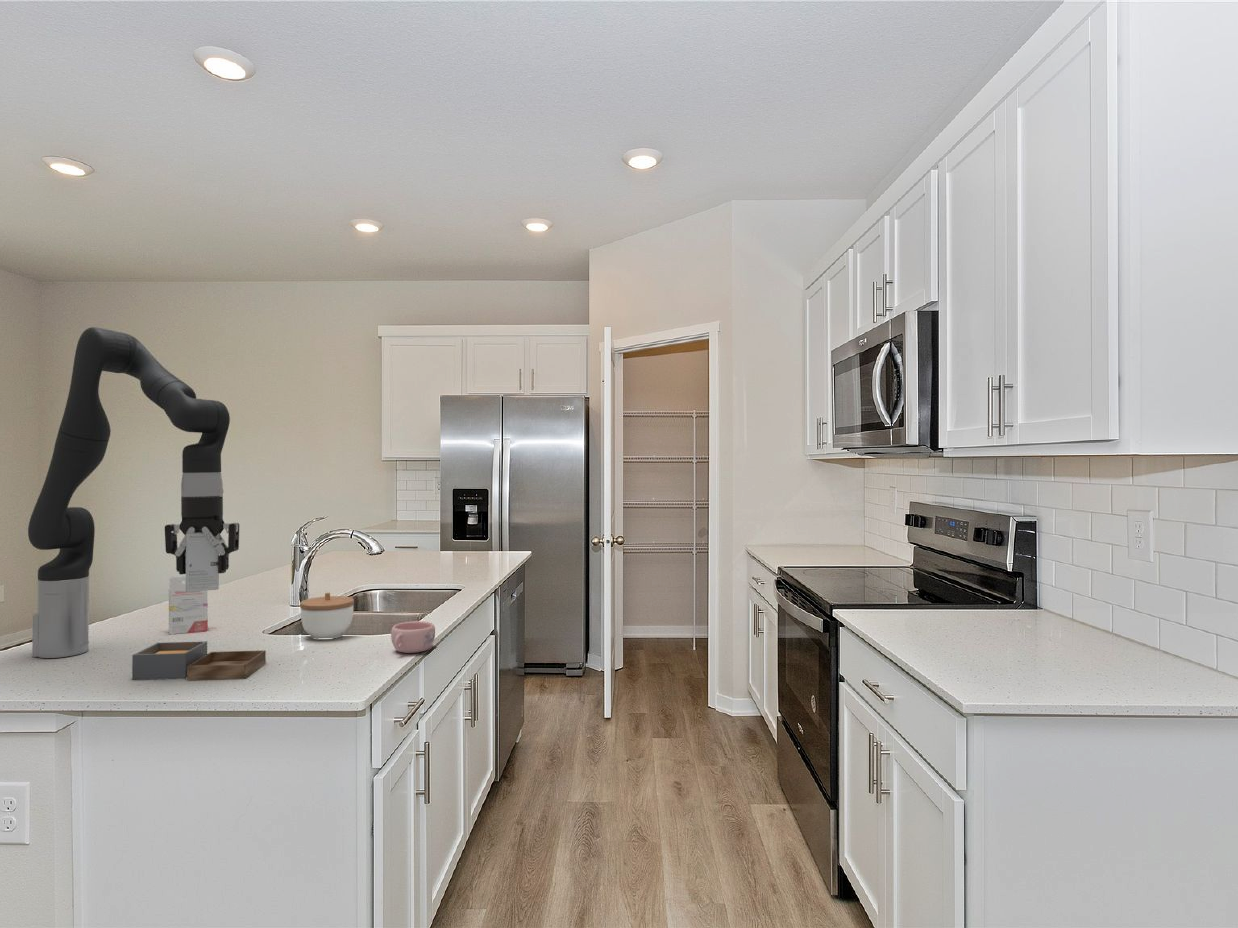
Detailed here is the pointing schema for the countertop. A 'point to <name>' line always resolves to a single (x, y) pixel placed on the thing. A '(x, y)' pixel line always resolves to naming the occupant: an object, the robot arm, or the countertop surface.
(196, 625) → the ink cartridge box
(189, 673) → the wooden square tray
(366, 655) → the countertop surface
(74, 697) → the countertop surface
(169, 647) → the tray
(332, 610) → the lidded bowl
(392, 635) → the mug
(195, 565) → the skincare box
